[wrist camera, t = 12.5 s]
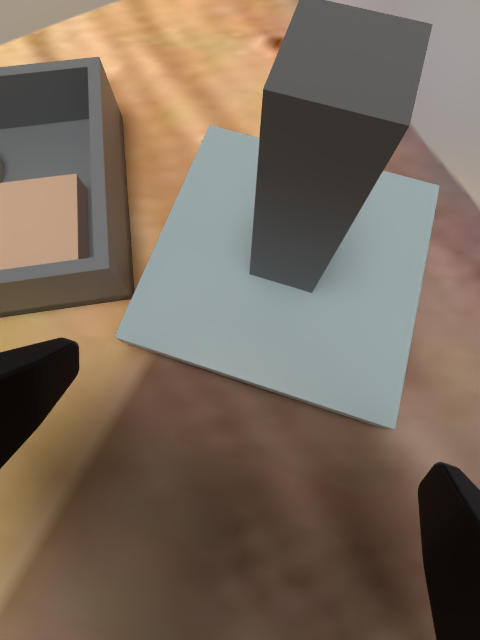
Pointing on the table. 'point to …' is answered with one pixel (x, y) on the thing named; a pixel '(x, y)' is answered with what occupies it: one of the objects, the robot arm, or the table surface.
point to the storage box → (62, 189)
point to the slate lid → (303, 227)
